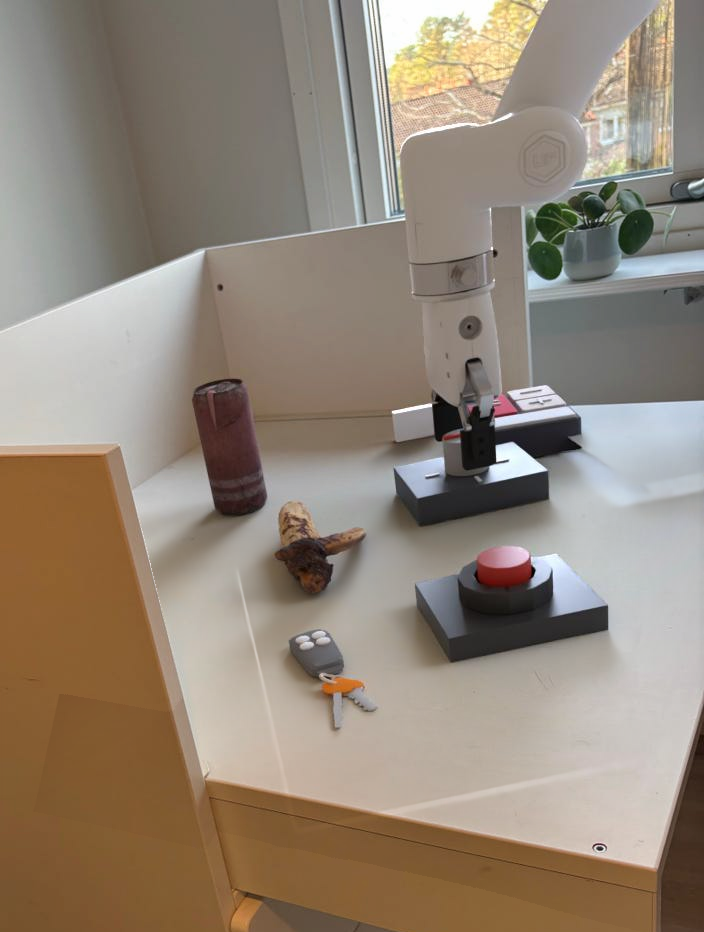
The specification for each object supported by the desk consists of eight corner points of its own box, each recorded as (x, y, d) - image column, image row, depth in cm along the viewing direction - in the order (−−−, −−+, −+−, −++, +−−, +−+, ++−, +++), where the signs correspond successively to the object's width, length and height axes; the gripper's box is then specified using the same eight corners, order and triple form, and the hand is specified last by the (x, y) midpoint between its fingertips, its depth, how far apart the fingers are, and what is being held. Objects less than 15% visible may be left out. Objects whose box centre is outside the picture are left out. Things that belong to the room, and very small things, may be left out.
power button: (520, 561, 76) (519, 541, 76) (539, 582, 73) (538, 561, 72) (471, 572, 76) (469, 552, 76) (487, 593, 73) (486, 572, 72)
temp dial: (481, 457, 100) (479, 421, 98) (495, 470, 96) (493, 433, 94) (440, 466, 100) (436, 431, 98) (452, 479, 96) (449, 443, 94)
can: (211, 520, 107) (185, 398, 101) (219, 499, 113) (195, 381, 106) (265, 513, 106) (241, 388, 99) (270, 492, 111) (248, 373, 105)
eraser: (436, 434, 118) (433, 405, 116) (396, 442, 118) (393, 413, 116) (433, 432, 119) (430, 403, 117) (394, 439, 119) (391, 411, 118)
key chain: (285, 651, 79) (282, 635, 78) (328, 638, 79) (325, 623, 78) (336, 732, 67) (333, 714, 67) (386, 717, 68) (383, 699, 67)
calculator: (550, 381, 115) (581, 410, 102) (551, 416, 117) (583, 449, 104) (457, 397, 117) (476, 427, 104) (460, 431, 119) (479, 465, 105)
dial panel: (514, 468, 103) (513, 440, 102) (549, 499, 95) (548, 468, 93) (396, 493, 104) (392, 465, 102) (420, 526, 95) (417, 497, 93)
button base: (557, 576, 81) (555, 533, 79) (608, 630, 72) (608, 583, 70) (416, 606, 81) (412, 563, 79) (451, 663, 72) (446, 617, 70)
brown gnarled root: (386, 591, 85) (354, 514, 101) (383, 543, 83) (350, 472, 98) (283, 608, 86) (266, 528, 101) (276, 560, 83) (260, 487, 99)
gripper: (525, 280, 81) (532, 471, 89) (463, 256, 96) (474, 422, 104) (437, 298, 81) (452, 487, 89) (390, 272, 97) (406, 436, 105)
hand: (464, 452), depth 97 cm, fingers open, 9 cm apart
